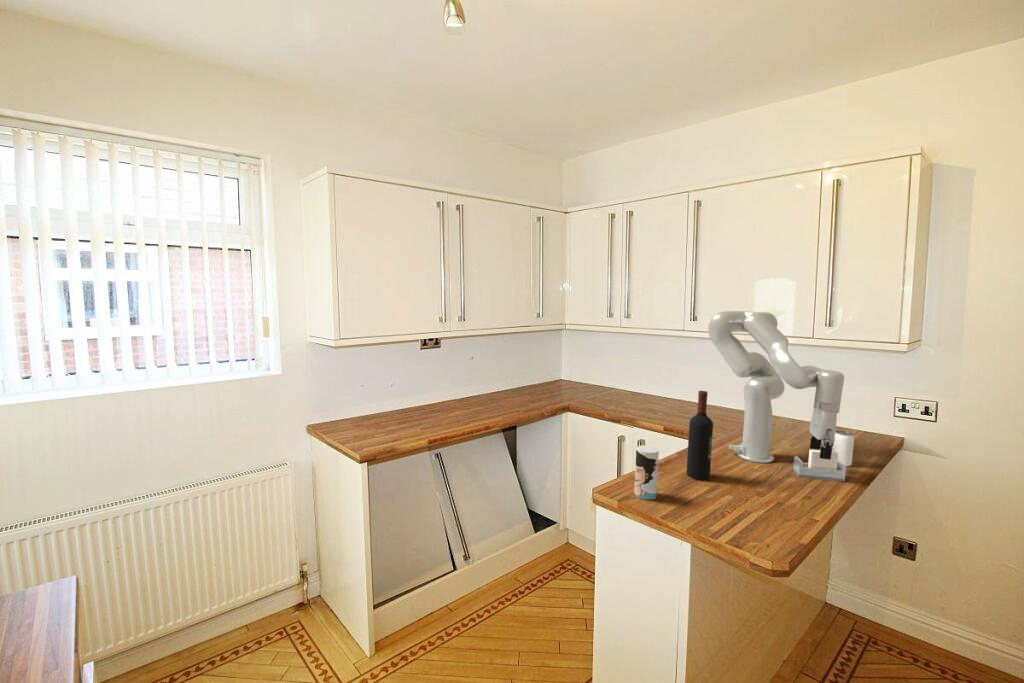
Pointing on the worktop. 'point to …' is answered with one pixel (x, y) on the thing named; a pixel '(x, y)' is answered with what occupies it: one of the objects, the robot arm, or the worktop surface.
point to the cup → (646, 472)
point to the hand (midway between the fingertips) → (819, 453)
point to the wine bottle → (700, 442)
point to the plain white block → (822, 460)
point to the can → (844, 447)
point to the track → (819, 471)
